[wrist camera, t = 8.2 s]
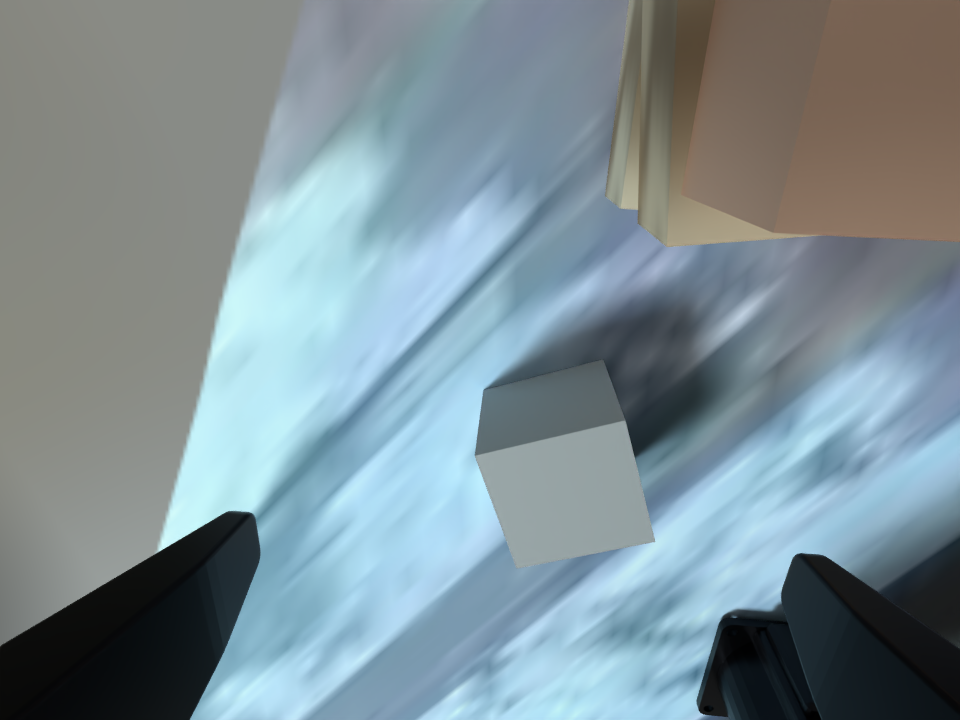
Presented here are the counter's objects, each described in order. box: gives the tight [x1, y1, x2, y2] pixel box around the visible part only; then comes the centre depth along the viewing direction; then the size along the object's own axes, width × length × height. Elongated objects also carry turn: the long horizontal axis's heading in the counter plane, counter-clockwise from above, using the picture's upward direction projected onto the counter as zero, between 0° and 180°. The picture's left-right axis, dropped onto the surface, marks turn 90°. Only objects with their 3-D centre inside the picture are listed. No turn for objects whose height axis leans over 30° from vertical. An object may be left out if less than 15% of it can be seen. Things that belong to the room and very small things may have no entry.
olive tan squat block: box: [605, 0, 643, 210], centre depth 16 cm, size 7×7×4 cm
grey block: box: [475, 359, 655, 568], centre depth 21 cm, size 5×5×5 cm
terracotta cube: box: [681, 0, 960, 242], centre depth 9 cm, size 5×5×5 cm
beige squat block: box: [638, 0, 819, 247], centre depth 13 cm, size 7×7×4 cm
